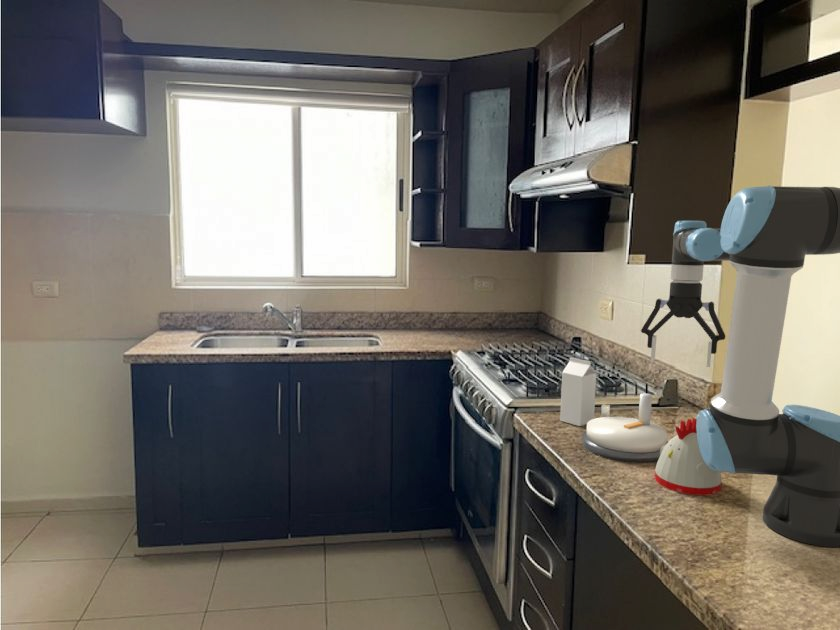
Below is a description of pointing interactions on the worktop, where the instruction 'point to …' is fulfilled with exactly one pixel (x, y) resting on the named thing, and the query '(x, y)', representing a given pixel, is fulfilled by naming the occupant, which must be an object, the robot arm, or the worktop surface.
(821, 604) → the worktop surface
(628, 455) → the dial base
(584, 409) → the milk carton
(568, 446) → the worktop surface
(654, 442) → the dial
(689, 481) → the kitchen timer
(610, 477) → the worktop surface
